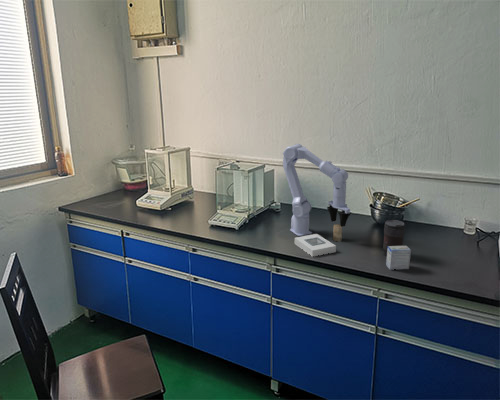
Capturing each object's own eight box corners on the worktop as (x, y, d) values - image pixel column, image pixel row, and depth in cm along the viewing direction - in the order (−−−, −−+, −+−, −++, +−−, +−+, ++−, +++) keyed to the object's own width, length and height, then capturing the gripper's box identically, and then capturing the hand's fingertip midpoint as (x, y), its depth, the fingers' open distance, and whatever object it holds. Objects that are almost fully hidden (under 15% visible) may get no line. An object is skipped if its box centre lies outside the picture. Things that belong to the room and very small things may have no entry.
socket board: (294, 243, 188) (294, 237, 187) (316, 239, 192) (316, 233, 191) (312, 256, 174) (312, 249, 173) (335, 252, 178) (336, 245, 177)
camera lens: (378, 253, 176) (380, 221, 172) (393, 250, 179) (396, 218, 175) (390, 260, 169) (393, 227, 165) (405, 257, 172) (409, 224, 167)
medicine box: (404, 264, 165) (406, 245, 163) (409, 269, 161) (411, 249, 158) (385, 265, 165) (387, 245, 163) (389, 270, 161) (391, 250, 158)
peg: (331, 238, 193) (331, 225, 191) (338, 237, 195) (338, 223, 193) (336, 241, 190) (336, 227, 188) (343, 240, 191) (343, 226, 189)
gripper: (356, 198, 181) (354, 227, 185) (337, 191, 194) (336, 217, 198) (343, 200, 178) (341, 229, 182) (325, 193, 191) (324, 219, 195)
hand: (338, 223), depth 190 cm, fingers open, 7 cm apart
